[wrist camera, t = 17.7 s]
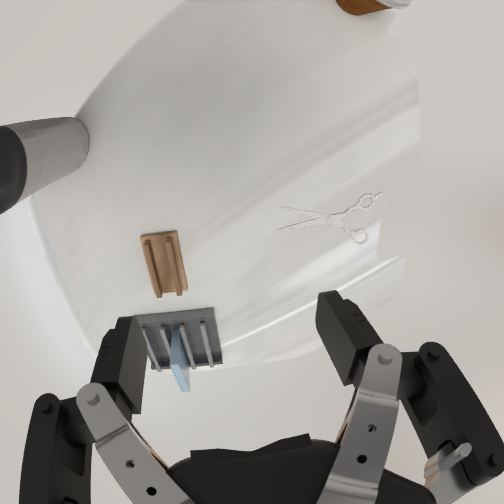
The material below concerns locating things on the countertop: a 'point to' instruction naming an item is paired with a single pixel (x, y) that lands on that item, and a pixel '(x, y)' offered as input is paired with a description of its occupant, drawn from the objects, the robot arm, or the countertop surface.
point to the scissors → (334, 217)
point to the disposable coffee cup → (371, 5)
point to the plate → (179, 361)
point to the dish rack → (193, 333)
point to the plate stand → (164, 262)
